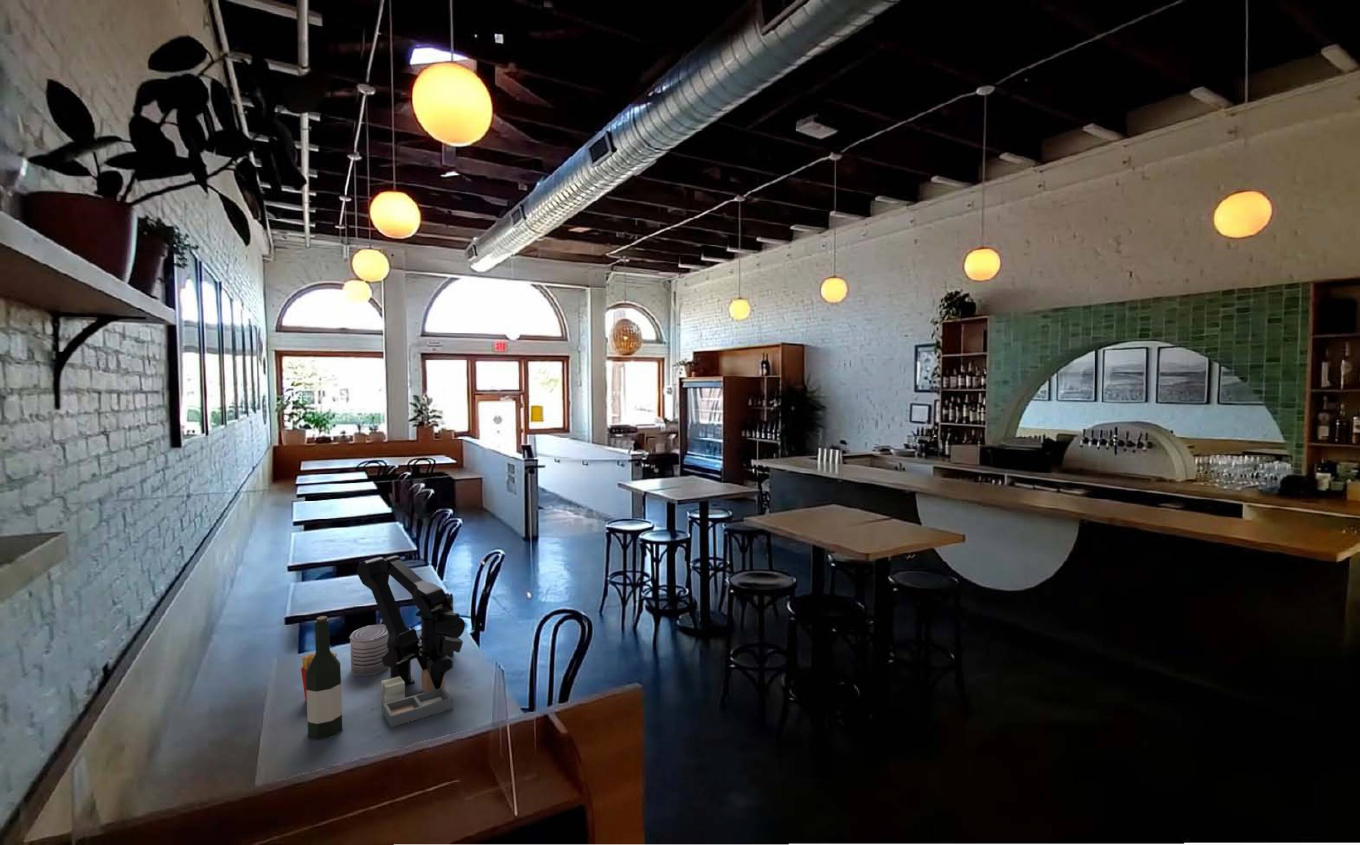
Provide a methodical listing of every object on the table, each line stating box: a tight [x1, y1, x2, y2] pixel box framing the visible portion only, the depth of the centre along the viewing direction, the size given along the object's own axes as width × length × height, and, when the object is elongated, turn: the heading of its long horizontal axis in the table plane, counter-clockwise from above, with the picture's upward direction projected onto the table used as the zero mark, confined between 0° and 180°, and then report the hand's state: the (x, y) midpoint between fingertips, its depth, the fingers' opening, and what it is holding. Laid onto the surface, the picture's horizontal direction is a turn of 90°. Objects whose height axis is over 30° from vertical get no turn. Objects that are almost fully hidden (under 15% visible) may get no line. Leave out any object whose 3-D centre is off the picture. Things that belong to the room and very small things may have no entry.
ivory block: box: [381, 676, 406, 705], centre depth 183 cm, size 5×5×6 cm
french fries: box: [300, 652, 338, 702], centre depth 185 cm, size 9×4×13 cm, turn 99°
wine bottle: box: [306, 615, 343, 740], centre depth 167 cm, size 8×8×30 cm
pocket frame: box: [382, 687, 454, 728], centre depth 178 cm, size 8×16×3 cm, turn 127°
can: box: [348, 623, 389, 677], centre depth 205 cm, size 11×11×12 cm
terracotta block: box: [421, 669, 446, 693], centre depth 190 cm, size 5×5×6 cm
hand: (433, 684), depth 190 cm, fingers open, 9 cm apart
